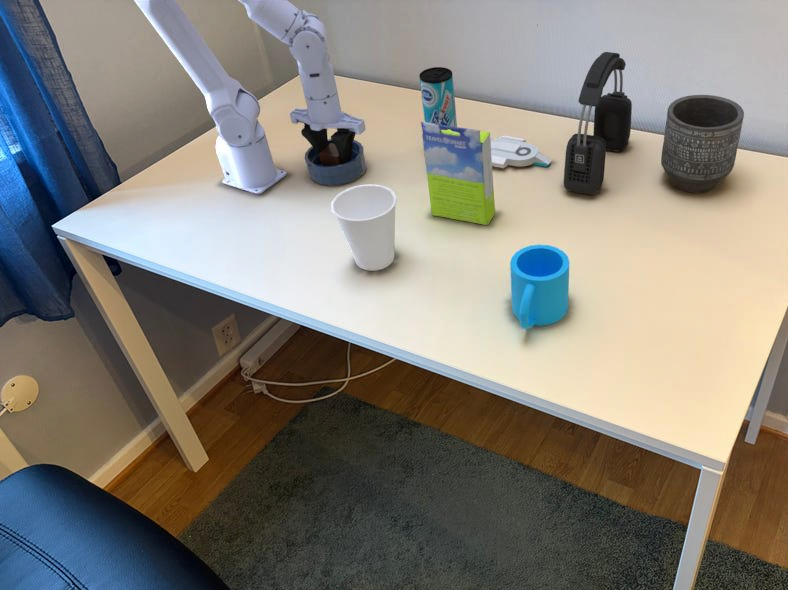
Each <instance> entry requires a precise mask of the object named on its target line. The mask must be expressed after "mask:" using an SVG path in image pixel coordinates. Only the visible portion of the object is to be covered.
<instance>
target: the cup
mask: <svg viewBox="0 0 788 590" xmlns="http://www.w3.org/2000/svg"><path fill="white" fill-rule="evenodd" d="M397 197H398V196H397V194H396V193H395V192H394V190H393V189H391V188H390V187H388V186H385V185H381V184H373V183H369V184H368V183H367V184H359V185H354V186H352V187H348V188H347V189H344V190H342V191H341V192H339V193H338V194H337V195H336V196H335V197H334V198H333V199H332V201H331V204H330V209H331V212H332V214H333V215H334V216H335V218H336V220H337V222H338V225H339V227H340V230H341V231H342V233H343V236H344V238H345V240H346V243H347V245H348V247H349V249H350V251H351V254H352V257H353V258H354V261H355V263H356V265H357V266H358V267H359V268H360V269H363V270H364V271H368V272H369V271H370V272H377V271H381V270H384V269H386V268H388V267H389V266H390V265H392V263H393V262H394V261H395V252H396V251H395V248H396V247H395V245H396V244H395V241H396V206H397V203H398V198H397Z"/></svg>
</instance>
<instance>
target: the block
mask: <svg viewBox="0 0 788 590" xmlns="http://www.w3.org/2000/svg"><path fill="white" fill-rule="evenodd" d="M319 156H320V160H321V164H322V166H337V165H341V161H340V157H339V153H338V150H337V148H336V146H335V144H333V143H330V144H329V145H328V146H327V147H326V148H325V149H323V150H322V151H321V152H320V153H319Z"/></svg>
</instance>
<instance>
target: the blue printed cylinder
mask: <svg viewBox="0 0 788 590" xmlns="http://www.w3.org/2000/svg"><path fill="white" fill-rule="evenodd" d="M418 77H419V85H420V94H421V103H422V109H423V110H422V111H423V118H424V122H427V123H433V124H439V125H445V126H452V127H458V122H457V121H458V120H457V110H456V98H455V87H454V76H453V71H452V70H451V69H450V68H447V67H443V66H435V67H429V68H426V69H423V70H422V71H421V72H420V73H419V76H418Z"/></svg>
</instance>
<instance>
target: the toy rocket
mask: <svg viewBox="0 0 788 590" xmlns="http://www.w3.org/2000/svg"><path fill="white" fill-rule="evenodd" d="M490 140H491V157H492V167H494V168H495V167H496V168H500V169H505V168H507V167H508V166H513V167H526V166H531V165H535V166H540V167H544V168H545V167H546V168H547V167H548V166H549V165H550V163H551V162H552V159H551V158H550V157H548V156H546V155H544V154H543V153H541V152H539V148H538V147H537V146H536V145H535V144H533V143H531V142H526V141H527V140H526V138H521V137H517V136H511V135H501V136H500V137H499V136H498V137H496V138H495V139H491V138H490Z"/></svg>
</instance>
